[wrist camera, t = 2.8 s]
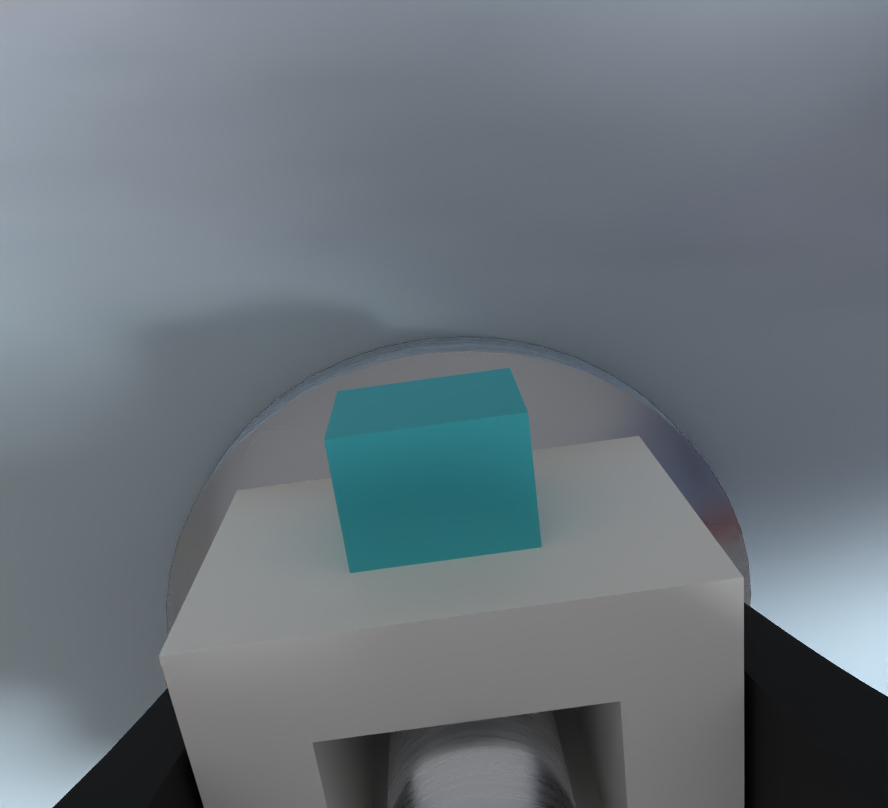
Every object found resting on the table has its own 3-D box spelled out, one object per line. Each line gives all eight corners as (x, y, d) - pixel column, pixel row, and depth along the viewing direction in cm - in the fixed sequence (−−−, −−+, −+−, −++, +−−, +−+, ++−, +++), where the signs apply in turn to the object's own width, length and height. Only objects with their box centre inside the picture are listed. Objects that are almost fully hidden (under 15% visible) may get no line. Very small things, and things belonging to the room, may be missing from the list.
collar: (633, 326, 10) (743, 425, 7) (655, 754, 12) (744, 984, 9) (211, 384, 10) (114, 510, 7) (312, 800, 12) (276, 1046, 9)
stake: (727, 297, 11) (956, 421, 6) (731, 777, 14) (893, 1103, 9) (117, 380, 11) (-96, 565, 6) (247, 841, 14) (166, 1198, 9)
